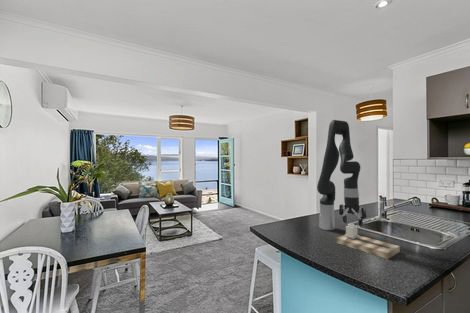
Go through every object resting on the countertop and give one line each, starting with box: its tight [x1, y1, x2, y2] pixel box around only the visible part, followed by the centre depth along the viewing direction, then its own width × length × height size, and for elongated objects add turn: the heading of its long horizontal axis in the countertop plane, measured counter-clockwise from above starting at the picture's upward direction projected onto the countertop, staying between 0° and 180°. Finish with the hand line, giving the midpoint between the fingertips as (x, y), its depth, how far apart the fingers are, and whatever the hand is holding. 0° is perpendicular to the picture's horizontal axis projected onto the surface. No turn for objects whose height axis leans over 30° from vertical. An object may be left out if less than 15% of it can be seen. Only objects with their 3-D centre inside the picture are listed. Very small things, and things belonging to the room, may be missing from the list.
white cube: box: [344, 224, 359, 239], centre depth 128 cm, size 5×6×6 cm
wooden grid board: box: [336, 233, 401, 260], centre depth 121 cm, size 26×14×3 cm, turn 34°
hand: (352, 224), depth 127 cm, fingers open, 8 cm apart
